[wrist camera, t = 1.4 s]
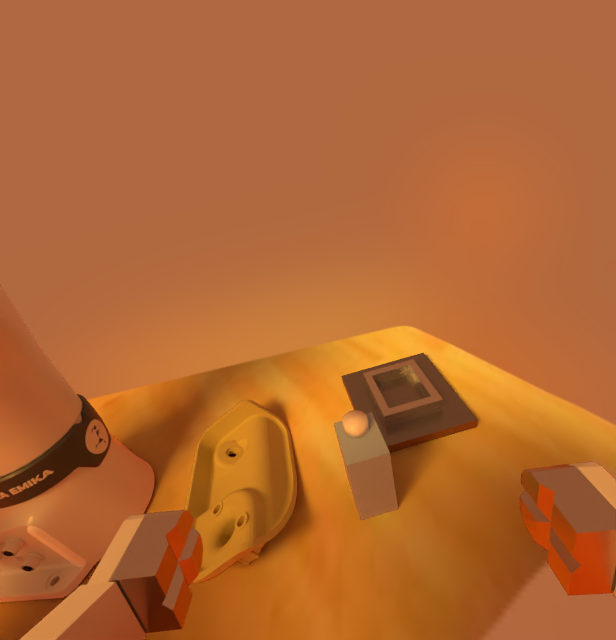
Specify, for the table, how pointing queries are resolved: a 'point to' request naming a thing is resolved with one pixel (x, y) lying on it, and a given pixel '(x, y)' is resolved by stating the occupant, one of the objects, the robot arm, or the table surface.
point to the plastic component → (241, 486)
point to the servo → (367, 464)
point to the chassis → (408, 401)
